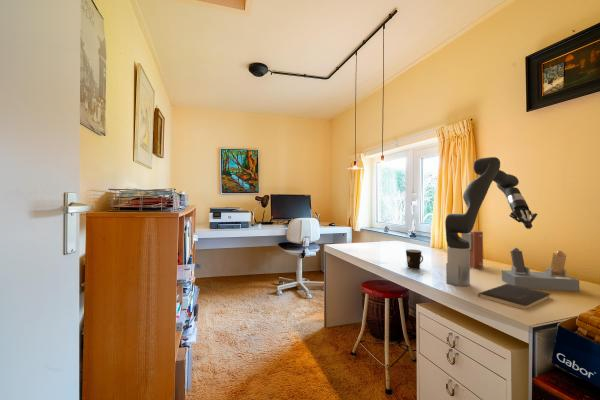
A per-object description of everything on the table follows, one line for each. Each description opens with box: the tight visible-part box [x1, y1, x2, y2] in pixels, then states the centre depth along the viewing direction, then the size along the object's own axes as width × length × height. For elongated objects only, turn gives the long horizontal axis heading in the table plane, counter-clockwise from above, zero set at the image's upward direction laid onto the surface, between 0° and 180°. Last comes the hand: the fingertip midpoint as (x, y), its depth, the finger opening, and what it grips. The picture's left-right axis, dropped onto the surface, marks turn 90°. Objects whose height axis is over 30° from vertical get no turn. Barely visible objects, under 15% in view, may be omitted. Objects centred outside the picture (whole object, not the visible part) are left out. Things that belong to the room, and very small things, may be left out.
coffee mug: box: [405, 249, 424, 270], centre depth 159 cm, size 12×9×10 cm
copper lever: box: [550, 250, 567, 276], centre depth 123 cm, size 4×3×12 cm, turn 76°
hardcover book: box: [477, 283, 552, 310], centre depth 111 cm, size 16×23×2 cm
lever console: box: [501, 265, 580, 292], centre depth 126 cm, size 24×12×8 cm, turn 77°
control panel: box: [460, 229, 484, 269], centre depth 164 cm, size 21×7×15 cm
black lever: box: [509, 247, 526, 273], centre depth 130 cm, size 4×3×12 cm, turn 76°
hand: (529, 227), depth 142 cm, fingers closed
